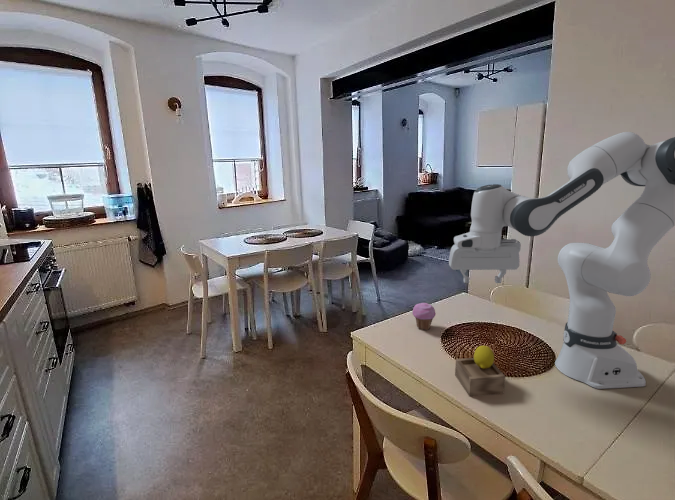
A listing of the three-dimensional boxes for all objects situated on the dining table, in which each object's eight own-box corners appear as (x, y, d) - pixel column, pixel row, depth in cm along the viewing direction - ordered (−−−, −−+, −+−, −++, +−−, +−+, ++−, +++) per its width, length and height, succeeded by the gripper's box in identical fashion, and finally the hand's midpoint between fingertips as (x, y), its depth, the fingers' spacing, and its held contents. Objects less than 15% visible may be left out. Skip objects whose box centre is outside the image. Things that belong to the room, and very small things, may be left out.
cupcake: (434, 334, 135) (435, 309, 132) (410, 331, 138) (411, 307, 135) (435, 323, 143) (436, 300, 141) (413, 321, 146) (414, 298, 143)
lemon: (497, 369, 101) (498, 347, 106) (480, 359, 101) (482, 337, 107) (485, 377, 104) (486, 355, 110) (468, 367, 105) (471, 346, 110)
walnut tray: (486, 373, 111) (487, 356, 109) (503, 394, 101) (505, 376, 100) (454, 376, 110) (455, 359, 109) (469, 397, 100) (470, 378, 99)
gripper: (517, 236, 110) (513, 278, 113) (448, 237, 112) (447, 278, 116) (525, 241, 104) (520, 286, 107) (452, 242, 106) (450, 285, 110)
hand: (482, 282), depth 111 cm, fingers open, 8 cm apart
